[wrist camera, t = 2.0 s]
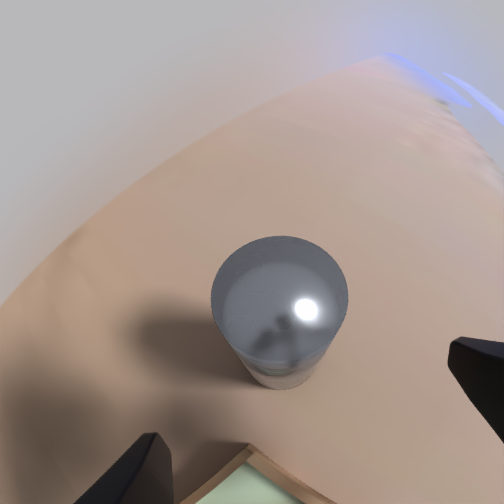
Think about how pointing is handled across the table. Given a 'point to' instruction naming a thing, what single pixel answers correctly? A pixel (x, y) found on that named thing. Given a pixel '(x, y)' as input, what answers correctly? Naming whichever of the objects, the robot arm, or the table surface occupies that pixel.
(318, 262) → the grey metal cylinder
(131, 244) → the table surface
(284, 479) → the wooden divided tray
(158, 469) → the robot arm
